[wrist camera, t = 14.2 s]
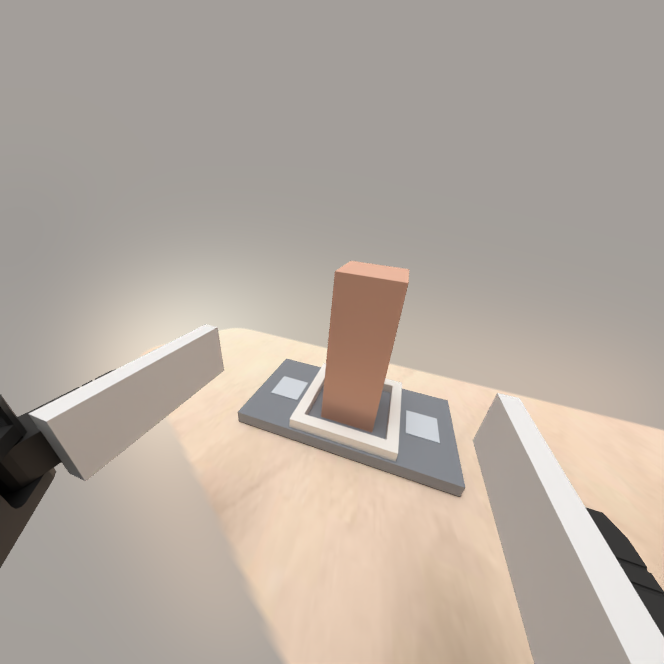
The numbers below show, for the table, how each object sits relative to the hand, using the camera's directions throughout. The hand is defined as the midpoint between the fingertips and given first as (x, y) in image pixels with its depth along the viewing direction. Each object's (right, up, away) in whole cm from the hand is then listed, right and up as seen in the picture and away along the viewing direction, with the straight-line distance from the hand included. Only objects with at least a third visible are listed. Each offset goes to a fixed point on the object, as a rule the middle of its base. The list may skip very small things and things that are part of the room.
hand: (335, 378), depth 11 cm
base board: (+2, -6, +14) cm, 15 cm away
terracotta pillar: (+2, -5, +13) cm, 14 cm away
